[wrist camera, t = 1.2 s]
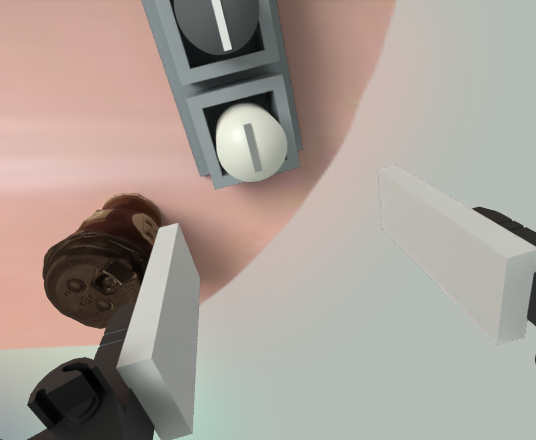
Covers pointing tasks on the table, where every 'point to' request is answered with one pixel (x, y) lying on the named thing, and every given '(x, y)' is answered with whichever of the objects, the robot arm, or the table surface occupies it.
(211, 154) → the mount
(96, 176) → the table surface
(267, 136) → the knob
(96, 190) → the table surface
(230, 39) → the black dial
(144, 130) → the table surface
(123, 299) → the coffee cup
